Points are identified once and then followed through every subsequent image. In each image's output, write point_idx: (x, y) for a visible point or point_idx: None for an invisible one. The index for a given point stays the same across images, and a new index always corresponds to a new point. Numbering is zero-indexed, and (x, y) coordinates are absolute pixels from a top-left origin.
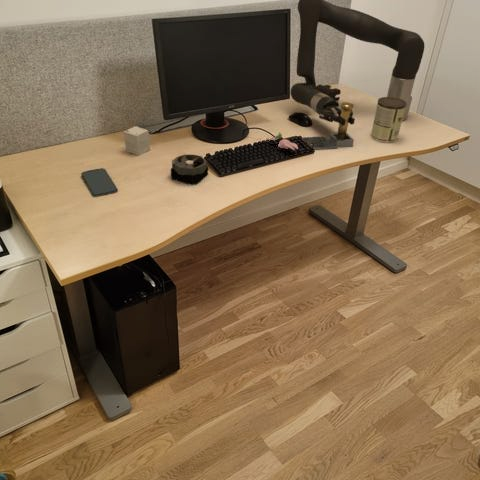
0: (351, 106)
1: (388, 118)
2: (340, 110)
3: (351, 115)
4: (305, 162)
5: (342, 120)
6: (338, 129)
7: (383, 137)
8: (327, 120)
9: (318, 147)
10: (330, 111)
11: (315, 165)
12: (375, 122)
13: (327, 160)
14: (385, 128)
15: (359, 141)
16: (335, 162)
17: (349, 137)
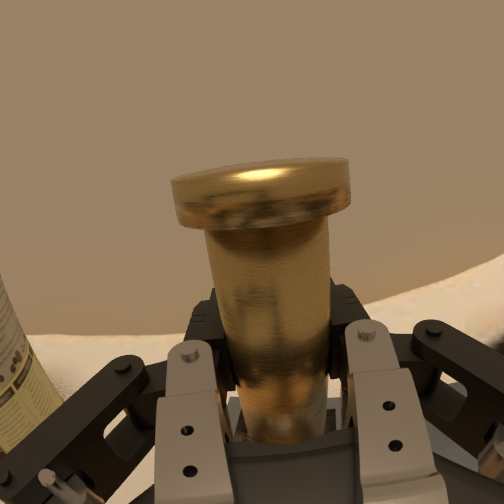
0: (246, 163)
1: (10, 302)
2: (228, 459)
3: (149, 368)
4: (483, 310)
5: (336, 286)
6: (325, 416)
7: (56, 391)
8: (455, 398)
9: (452, 384)
10: (443, 467)
11: (452, 299)
12: (9, 388)
13: (414, 322)
14: (34, 353)
15: (150, 458)
16: (386, 313)
17: (234, 428)
